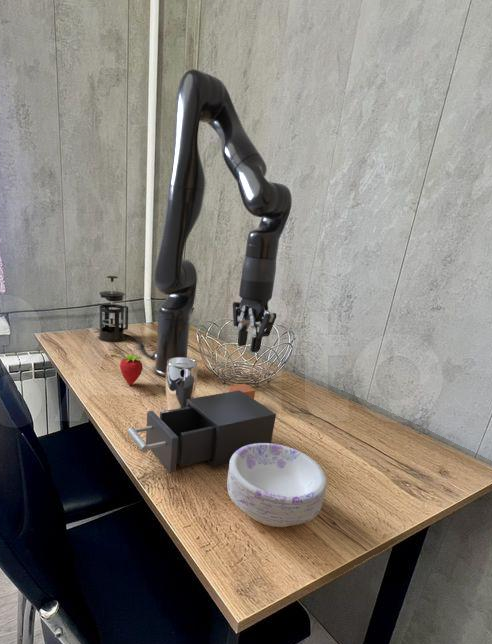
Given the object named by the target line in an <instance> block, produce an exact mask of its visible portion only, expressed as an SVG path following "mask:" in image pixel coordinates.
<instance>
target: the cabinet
mask: <svg viewBox="0 0 492 644" xmlns="http://www.w3.org/2000/svg"><path fill="white" fill-rule="evenodd" d="M190 406H191V407H192V408H194V409H195V410H196V411H197V412H198V413H199V414H201V415H202V416H203V417H204V418H205V419H206V420H208V421H209V422H210V423H211V424H212V425H214V426H215V427H216V435H215V444H214V452H213V459H209V460H206V462H208V464H210V466H211V467H212V468H214V469H217V468H219V467H223V466H226V465H229V464H230V459H231V457H232V455H233V454H234V453H235V452H236V451H237V450H238V449H240V448H242V447H244V446H246V445H250V444H256V443H271V444H272V440H273V434H274V429H275V423H276V417H277V413H275V412H274V411H272V410H270V409H269V408H268V407H266V406H264V405H263V404H261V403H260V402H259V401H257V400H255V398H254V399H252V398H251V397H249V396H248V395H246V394H245V393H243V392H242V391H240V390H238V391H233V392H229V391H227V392H222V393H221V392H220V393H216V394H210V395H204V396H203V395H202V396H197V397H193V398H191V399H187V403H186V407H190Z"/></svg>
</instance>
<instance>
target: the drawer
mask: <svg viewBox="0 0 492 644" xmlns="http://www.w3.org/2000/svg"><path fill="white" fill-rule="evenodd" d="M126 431H127V434H128V436H129V437H130V438H131V439H132V440H133V442H134V443H135V444H136V446H137V447H138V449H140V451H141V452H142V453H144V454H145V453H147V452H148V451H151V452H152V454H154V455H155V457H156V458H157V459H158V460H159V462H160V463H161V464H162V465H163V467H164V468H165V469H166V471H168V473H169V474H173V473H176V472H177V471H176V470H177V465H178V466H179V467H185V466H189V465H194V464H196V463H201V462H205V461H207V460H209V459H213V452H214V444H215V435H216V427H215V426H214V425H212V424H211V423H210V422H209V421H208V420H206V419H205V418H204V417H203V416H202V415H201V414H199V413H198V412H197V411H196V410H195V409H194V408H192V407H191V406H190V407H185V408H179V409H173V410H168V411H167V410H162V411H159V416H158V415H157V413H156V412H155V411H154V410H148V411H147V412H146V426H144V427H138V428H134V427H132V426H130V427H128V428H127V430H126ZM143 432H145V440H144V439H143V438H142V437H141V435H140V434H139V433H143Z"/></svg>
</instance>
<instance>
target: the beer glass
mask: <svg viewBox="0 0 492 644" xmlns="http://www.w3.org/2000/svg"><path fill="white" fill-rule="evenodd" d="M164 377H165V380H164V381H165V382H164V384H165V385H164V386H165V387H164V388H165V397H166V411H168V410H173V409H179V408H185V407H186V403H187V399H191V398H195V393H196V389H197V385H198V383H197V382H198V361H197V360H195V359H193V358H190V357H187V358H186V357H174V358H170V359H169V360H168V361H167V369H166V376H164Z"/></svg>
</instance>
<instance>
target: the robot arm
mask: <svg viewBox="0 0 492 644" xmlns="http://www.w3.org/2000/svg"><path fill="white" fill-rule="evenodd" d="M174 118H175V119H174V137H173V149H172V159H171V160H172V161H171V169H170V176H169V183H168V190H167V197H166V198H167V199H166V208H165V216H164V223H163V230H162V237H161V242H160V246H159V251H158V256H157V259H156V264H155V270H154V283H155V286H156V288H157V290H158V292H159V293H161V294H163V295H166V296H167V297H166V299H165V300H164V301H163V302H162V303H161V304H160V305H159V307H158V311H157V312H158V313H157V314H158V315H157V331H156V332H157V336H156V345H155V351H154V354H153V355H149V354H148V353H147V352H146V351H145V349H143V344H142V342H141V341H140V340H139V339H138V338H136V337H134V336H131V335H129V334H128V333H127V334H126V333H124V337H127V338H130V339H132V340H134V341H135V342H137V343H138V344H139V349H140V351H141V353H142V354H144V355H145V356H146V357H147V358H150V359H153V360H154V361H155V363H154V372H155V373H156V374H157V375H159V376H162V377H166V369H167V361H168V360H169V359H170V358H174V357H186V358H188V349H189V338H190V337H189V334H190V322H191V314H192V311H193V308H194V306H195V299H196V293H197V283H198V271H197V268H196V266H195V265H194V263H193V262H192V261H190V260H189V259H186V258H184V251H185V247H186V243H187V240H188V238H189V236H190V234H191V233H192V231H193V229H194V227H195V225H196V223H197V222H198V220H199V218H200V215H201V213H202V210H203V204H204V200H205V199H204V198H205V194H206V193H205V192H206V185H207V182H206V174H205V169H204V166H203V161H202V158H201V153H200V150H199V130H200V129H199V128H200V122H201V123H206V124H207V125H209V126H210V127H211V128H212V129H213V130H214V132H215V133H216V134H217V136H218V138H219V141H220V145H221V146H220V148H221V155H222V159H223V161H224V164H225V165H226V168H227V169H228V171H229V172H230V174H231V175H232V178H233V179H234V180H235V182H236V184H237V187H238V191H239V195H240V198H241V201H242V204H243V207H244V209H246V211H247V212H248V213H249V214H250V215H251V216H253V217H256V218H261V219H260V220H259V221H260V222H259V224H258V227H257V228H255V229H252V230H250V231H249V233H248V234H247V237H246V238H247V239H246V245H245V251H244V252H245V253H244V259H243V262H242V267H241V268H242V269H241V275H240V276H241V277H240V285H239V293H238V295H239V298H241V300H240V301H233V302H232V320H233V326H234V327H236V328H237V331H238V333H237V345H238V346H239V347H246V346H247V344H248V343H247V342H248V335H249V327H250V328H251V329H252V331H251V332H252V338H251V343H250V352H252V353H259V352H260V351H261V347H262V340H263V338H264V337H265V338H266V337H269V336H270V335H271V332H272V329H273V327H274V324H275V322H276V319H277V316H278V315H277V313H276V312H271V311H270V310H269V302H270V301H271V300H272V298H273V292H274V286H275V279H276V274H277V258H278V251H279V245H280V239H281V236H282V235H283V232H284V229H285V227H286V225H287V221H288V219H289V216H290V213H291V210H292V204H293V197H292V193H291V190H290V188H289V187H288V185H285V184H284V183H280V182H279V183H278V182H272V181H269V180H267V178H266V175H267V172H268V171H267V169H268V168H267V164H266V161H265V159H264V158H263V156H262V155H261V153H260V152H259V149H258V148H257V147H256V146H255V144H254V143H253V142H252V140H251V138H250V136H249V134H248V133H247V131H246V130H245V127H244V126H243V124H242V122H241V119H240V116H239V115H238V113H237V110H236V108H235V106H234V103H233V101H232V97H231V96H230V93H229V91H228V88H227V86H226V85H225V83H224V82H223V81H222V80H221V79H220V78H218V77H216V76H215V75H214V76H213V75H211V74H208V73H207V72H204V71H201V70H199V69H195V68H191V69H189V70H187V71H186V72H185V73H184V74H183V75H182V76H181V79H180V81H179V84H178V87H177V91H176V97H175V113H174ZM102 327H105V325H103V324H102Z"/></svg>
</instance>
